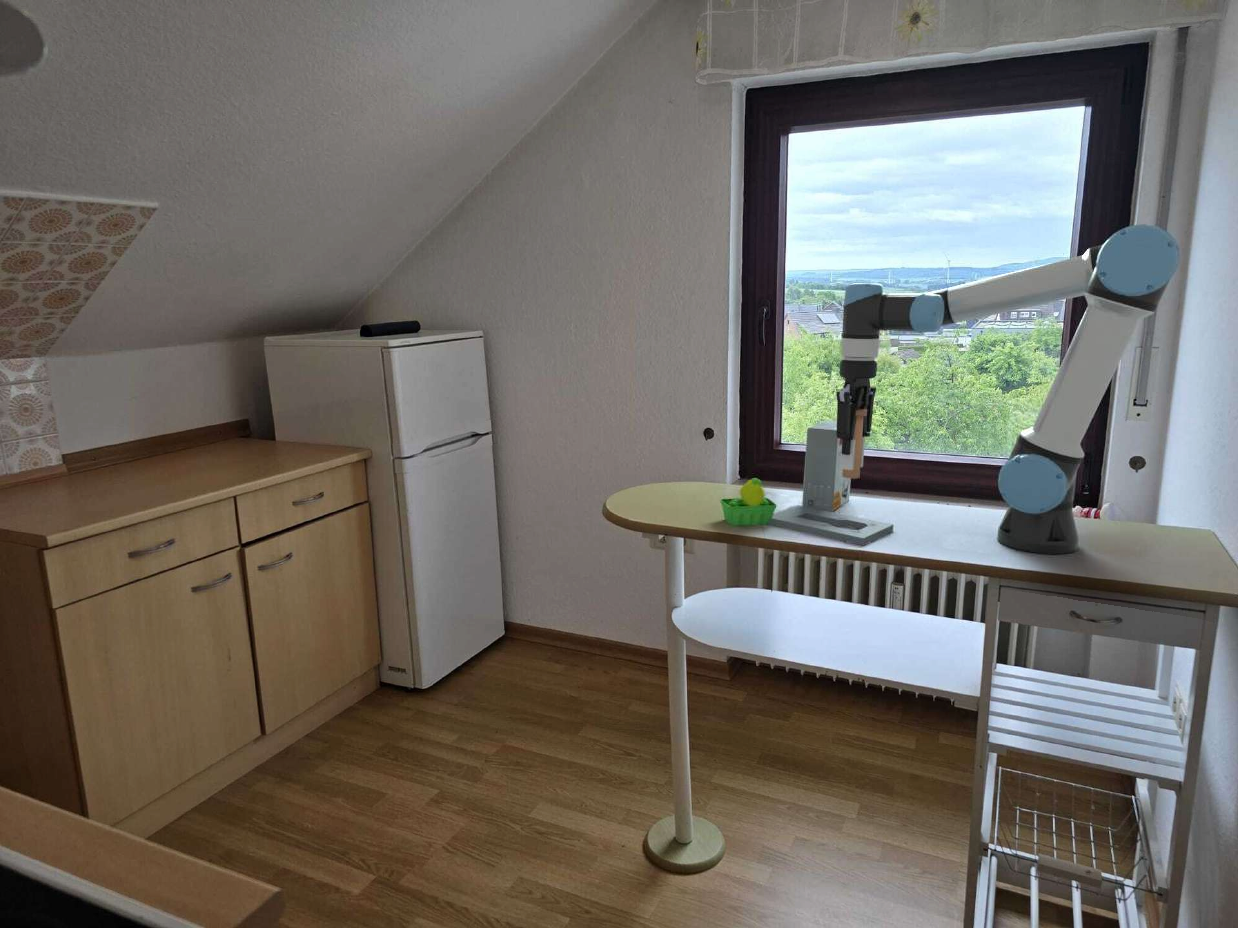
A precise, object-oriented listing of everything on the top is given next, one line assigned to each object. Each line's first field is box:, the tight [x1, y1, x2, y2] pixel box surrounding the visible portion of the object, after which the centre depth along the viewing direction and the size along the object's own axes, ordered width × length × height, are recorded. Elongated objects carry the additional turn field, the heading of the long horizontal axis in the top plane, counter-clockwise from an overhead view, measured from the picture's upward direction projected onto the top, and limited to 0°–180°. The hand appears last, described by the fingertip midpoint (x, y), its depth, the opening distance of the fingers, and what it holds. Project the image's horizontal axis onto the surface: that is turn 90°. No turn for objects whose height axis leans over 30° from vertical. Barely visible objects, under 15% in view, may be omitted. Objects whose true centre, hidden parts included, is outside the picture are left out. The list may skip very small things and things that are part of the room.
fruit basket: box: [719, 477, 777, 527], centre depth 190 cm, size 11×9×11 cm
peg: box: [842, 409, 867, 479], centre depth 180 cm, size 5×5×15 cm
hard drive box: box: [801, 419, 852, 512], centre depth 204 cm, size 16×8×20 cm, turn 150°
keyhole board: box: [767, 504, 894, 546], centre depth 187 cm, size 24×14×2 cm, turn 47°
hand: (851, 467), depth 181 cm, fingers closed on peg, 4 cm apart
